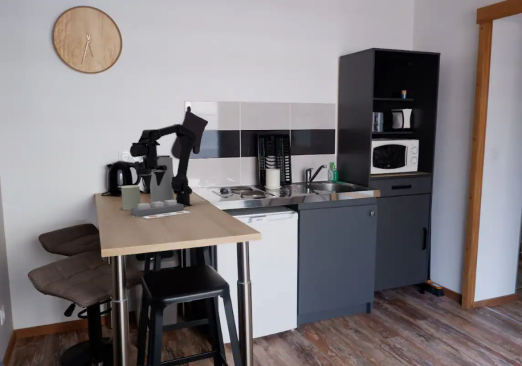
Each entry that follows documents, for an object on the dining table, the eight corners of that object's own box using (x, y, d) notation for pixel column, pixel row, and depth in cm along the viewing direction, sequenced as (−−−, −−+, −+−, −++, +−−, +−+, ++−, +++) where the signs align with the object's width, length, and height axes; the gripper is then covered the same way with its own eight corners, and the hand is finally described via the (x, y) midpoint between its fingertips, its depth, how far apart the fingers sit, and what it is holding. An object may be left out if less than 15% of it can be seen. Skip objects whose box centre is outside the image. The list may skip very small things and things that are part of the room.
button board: (174, 208, 226) (174, 202, 226) (183, 210, 218) (183, 204, 218) (131, 214, 212) (130, 207, 211) (139, 217, 204) (139, 210, 203)
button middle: (159, 206, 218) (159, 201, 217) (163, 207, 214) (163, 202, 214) (151, 207, 215) (151, 202, 215) (155, 208, 211) (155, 203, 211)
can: (133, 210, 221) (132, 186, 220) (118, 209, 224) (117, 186, 223) (144, 207, 230) (143, 184, 229) (129, 206, 233) (128, 184, 232)
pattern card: (184, 211, 217) (184, 210, 217) (190, 212, 212) (190, 211, 212) (142, 217, 203) (142, 216, 203) (147, 219, 198) (147, 218, 198)
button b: (172, 204, 222) (172, 199, 222) (176, 205, 219) (176, 200, 218) (164, 205, 219) (164, 200, 219) (168, 206, 216) (168, 201, 216)
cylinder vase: (171, 205, 235) (169, 158, 232) (148, 205, 235) (145, 158, 232) (176, 201, 247) (174, 156, 244) (154, 201, 248) (152, 157, 245)
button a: (146, 207, 213) (146, 202, 213) (150, 208, 210) (150, 203, 210) (137, 208, 211) (137, 203, 210) (141, 210, 207) (141, 205, 207)
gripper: (147, 154, 226) (149, 184, 228) (125, 157, 208) (128, 189, 211) (166, 153, 222) (168, 184, 224) (145, 157, 205) (148, 190, 207)
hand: (153, 187), depth 217 cm, fingers open, 9 cm apart
